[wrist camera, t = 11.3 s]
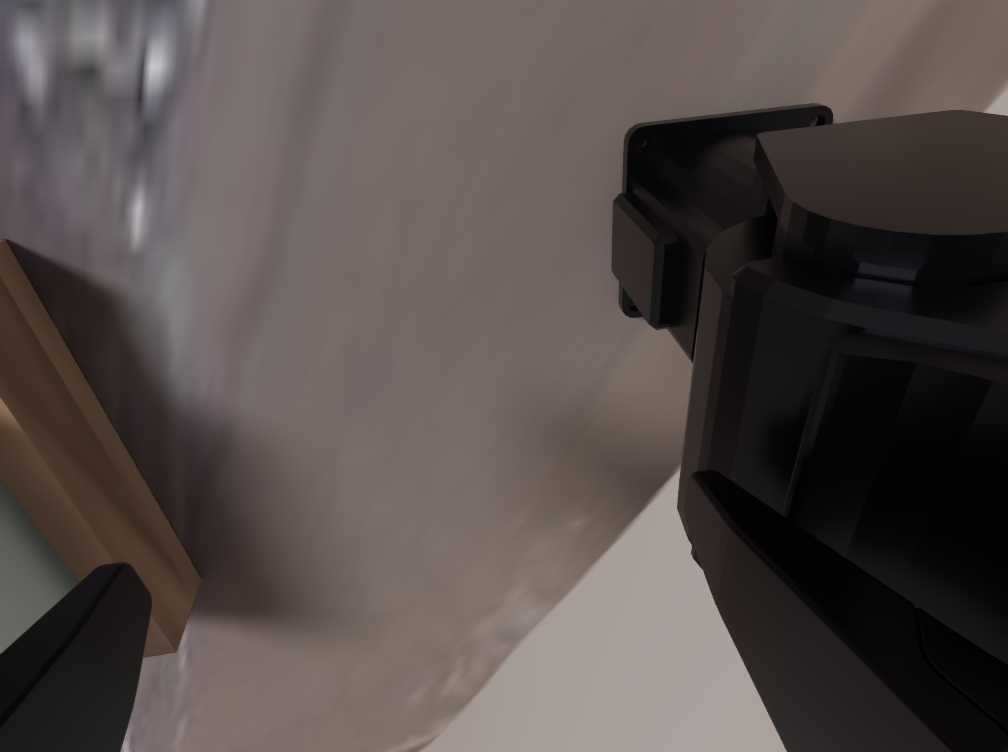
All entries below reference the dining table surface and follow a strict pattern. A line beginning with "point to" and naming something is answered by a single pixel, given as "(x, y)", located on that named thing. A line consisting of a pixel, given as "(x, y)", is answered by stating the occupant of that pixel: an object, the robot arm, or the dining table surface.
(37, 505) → the wooden tray
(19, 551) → the pale green rectangular block
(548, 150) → the dining table surface
